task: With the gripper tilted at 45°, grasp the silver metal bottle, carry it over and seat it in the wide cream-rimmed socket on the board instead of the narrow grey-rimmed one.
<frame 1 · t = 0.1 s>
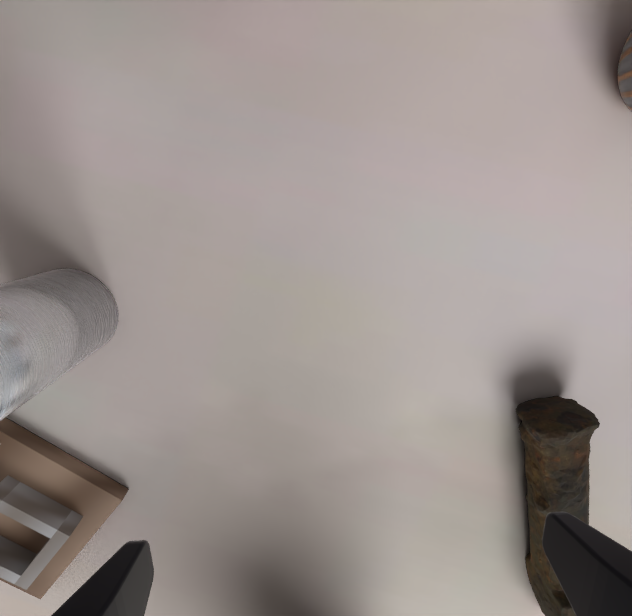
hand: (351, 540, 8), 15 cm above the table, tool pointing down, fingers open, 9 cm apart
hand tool: (543, 505, 27), on the table
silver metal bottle: (72, 311, 21), on the table
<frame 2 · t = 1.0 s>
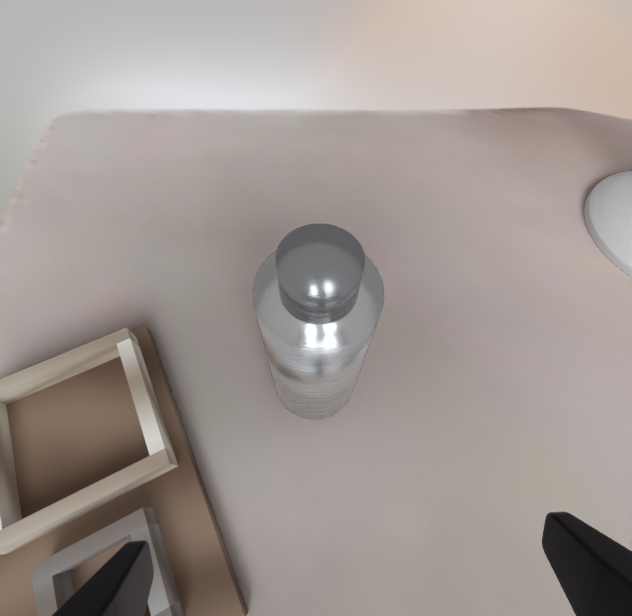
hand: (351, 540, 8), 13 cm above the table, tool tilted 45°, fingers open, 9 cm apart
socket board: (103, 493, 21), on the table
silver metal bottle: (314, 379, 24), on the table
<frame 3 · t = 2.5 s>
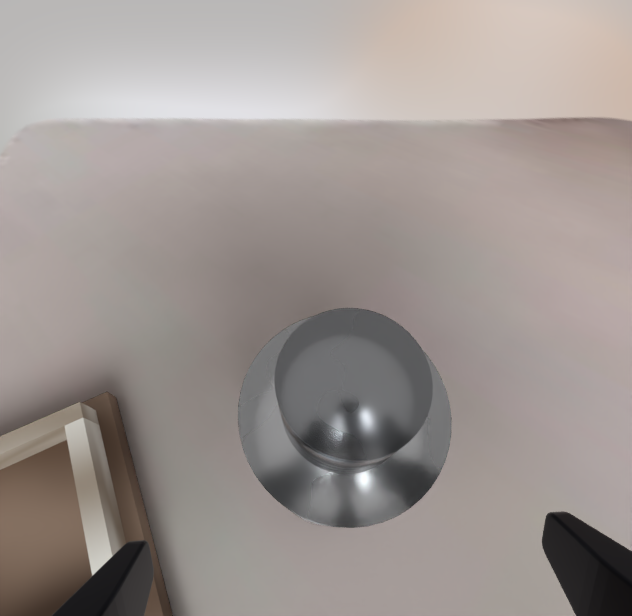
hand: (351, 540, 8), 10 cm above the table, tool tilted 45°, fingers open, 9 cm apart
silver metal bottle: (325, 466, 18), on the table
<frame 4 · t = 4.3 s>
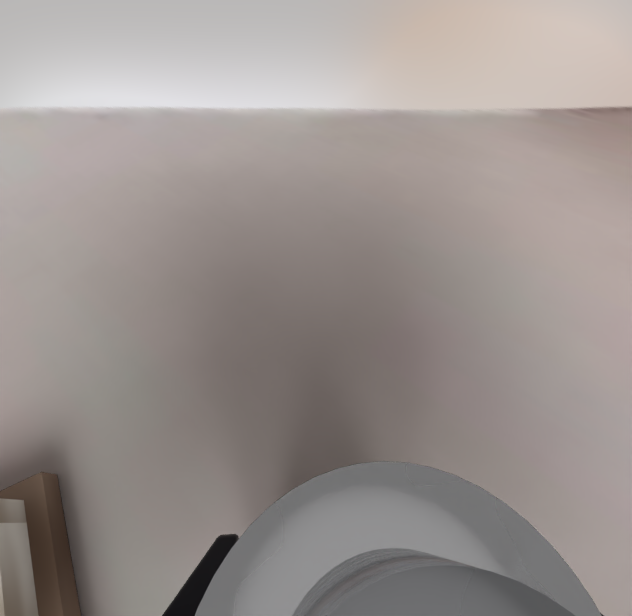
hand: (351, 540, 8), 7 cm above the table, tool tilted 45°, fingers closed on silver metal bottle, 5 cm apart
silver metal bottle: (337, 576, 14), on the table, touching gripper
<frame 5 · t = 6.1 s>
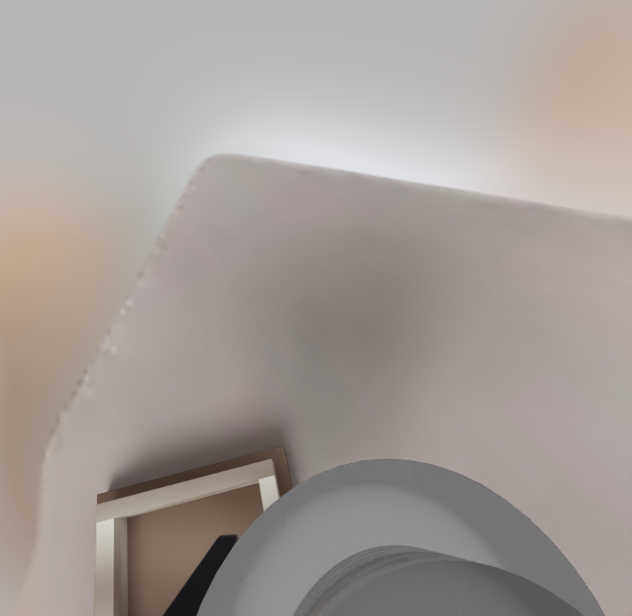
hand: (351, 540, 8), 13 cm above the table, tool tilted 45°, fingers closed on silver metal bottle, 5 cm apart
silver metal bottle: (338, 575, 14), point 7 cm above the table, touching gripper
when the fingers open (9 cm above the table, at t = 8.0 s): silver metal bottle drops 1 cm, resting on socket board.
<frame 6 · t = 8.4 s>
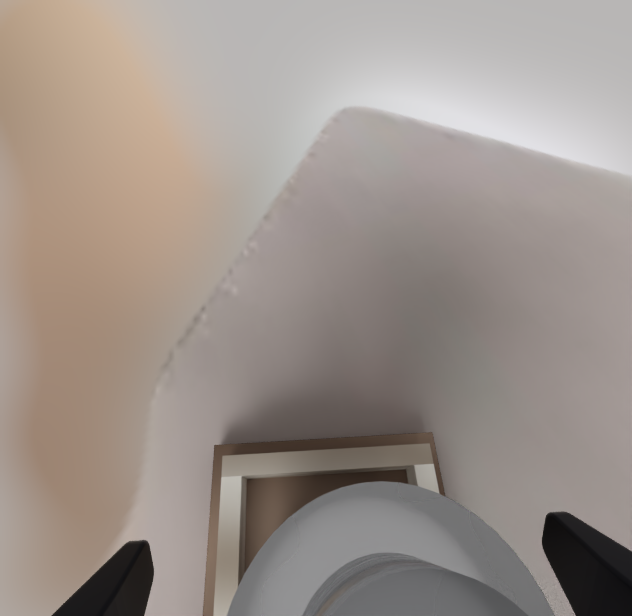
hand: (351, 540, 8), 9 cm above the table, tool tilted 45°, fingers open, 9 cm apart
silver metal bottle: (334, 573, 15), point 1 cm above the table, touching socket board
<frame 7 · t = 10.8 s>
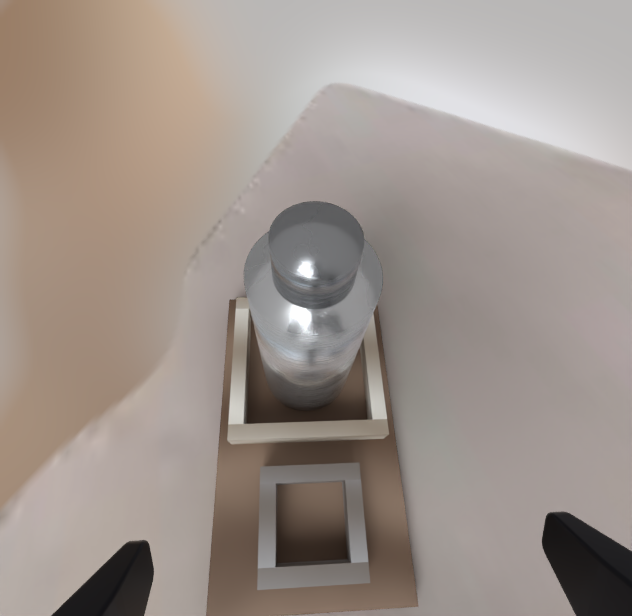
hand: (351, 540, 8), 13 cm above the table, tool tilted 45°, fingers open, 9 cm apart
socket board: (307, 430, 23), on the table
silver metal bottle: (306, 370, 23), point 1 cm above the table, touching socket board
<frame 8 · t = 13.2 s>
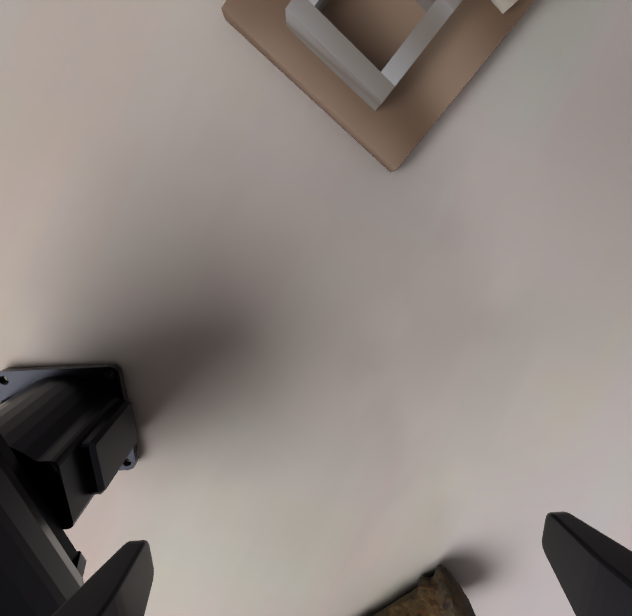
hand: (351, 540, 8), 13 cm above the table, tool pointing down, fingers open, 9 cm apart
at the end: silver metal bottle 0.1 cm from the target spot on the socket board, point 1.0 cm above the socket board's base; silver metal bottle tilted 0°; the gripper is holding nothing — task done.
